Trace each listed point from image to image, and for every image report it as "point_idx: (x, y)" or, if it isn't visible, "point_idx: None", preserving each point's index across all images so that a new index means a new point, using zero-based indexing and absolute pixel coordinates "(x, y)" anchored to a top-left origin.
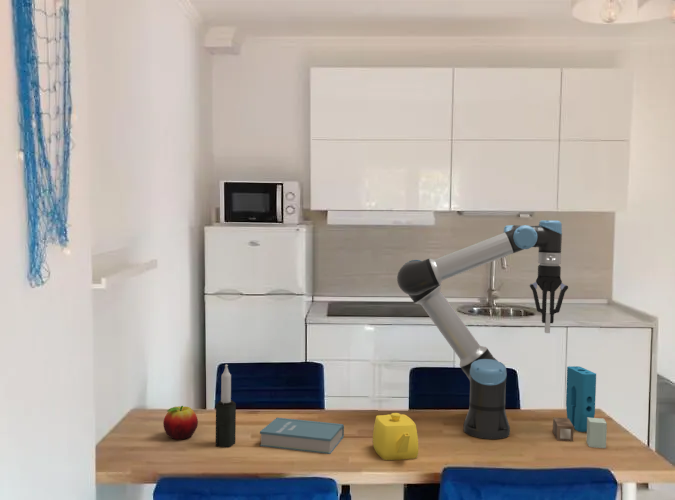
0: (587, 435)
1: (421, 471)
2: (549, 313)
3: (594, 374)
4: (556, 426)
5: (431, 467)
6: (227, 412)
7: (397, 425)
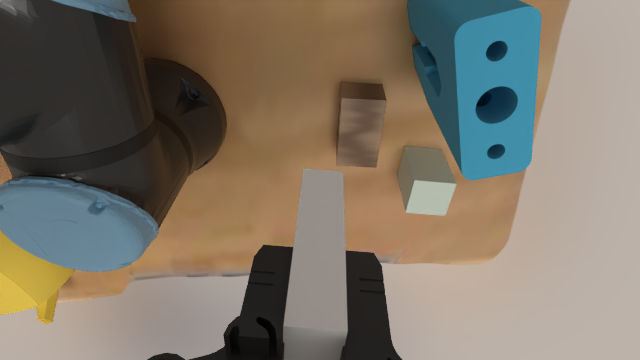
0: (405, 165)
1: (106, 296)
2: (345, 332)
3: (515, 172)
4: (337, 147)
5: (115, 284)
6: None
7: (11, 310)
